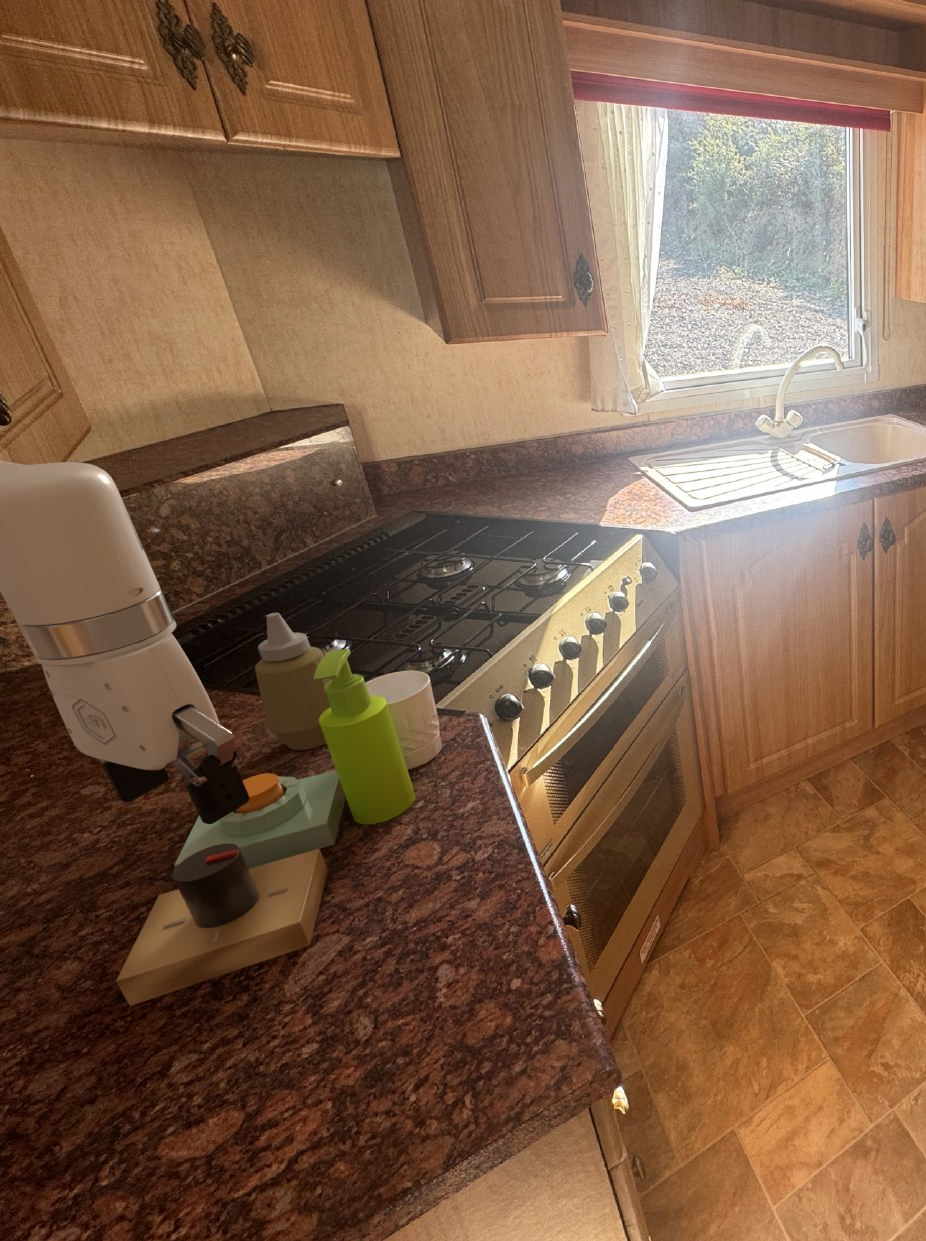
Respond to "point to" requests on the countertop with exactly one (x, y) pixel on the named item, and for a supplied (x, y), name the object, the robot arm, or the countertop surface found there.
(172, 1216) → the countertop surface
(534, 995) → the countertop surface
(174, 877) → the dial
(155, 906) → the dial panel
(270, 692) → the squeeze bottle
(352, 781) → the soap dispenser
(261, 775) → the orange arcade button
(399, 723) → the white cup
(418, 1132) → the countertop surface
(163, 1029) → the countertop surface
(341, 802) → the green button base
